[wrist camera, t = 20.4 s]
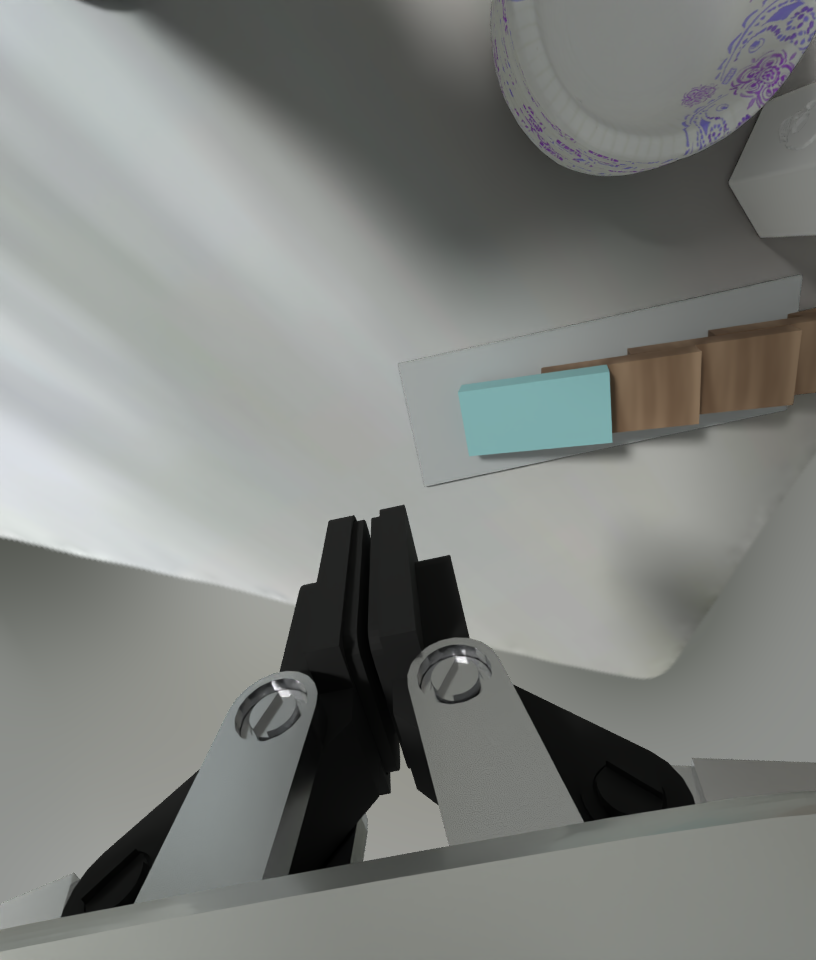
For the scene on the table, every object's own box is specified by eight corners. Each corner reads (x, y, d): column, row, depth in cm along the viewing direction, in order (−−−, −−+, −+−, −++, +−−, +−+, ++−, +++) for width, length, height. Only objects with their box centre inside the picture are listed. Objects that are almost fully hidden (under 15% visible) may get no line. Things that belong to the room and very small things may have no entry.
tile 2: (547, 439, 37) (698, 424, 34) (541, 374, 35) (701, 351, 32) (547, 430, 38) (692, 415, 35) (541, 367, 36) (694, 345, 33)
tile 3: (631, 421, 36) (792, 404, 33) (630, 354, 34) (801, 330, 31) (628, 413, 38) (782, 396, 35) (627, 348, 36) (790, 324, 33)
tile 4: (711, 403, 36) (881, 385, 33) (715, 335, 34) (896, 308, 31) (705, 396, 38) (866, 378, 35) (708, 330, 36) (880, 304, 33)
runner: (423, 484, 40) (424, 486, 40) (397, 363, 36) (398, 364, 36) (782, 408, 39) (786, 410, 39) (798, 274, 35) (802, 274, 34)
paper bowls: (494, -170, 25) (540, -342, 18) (776, -137, 26) (927, -288, 19) (465, 177, 31) (490, 153, 24) (693, 192, 32) (783, 173, 25)
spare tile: (469, 456, 37) (612, 442, 34) (457, 392, 35) (609, 371, 32) (472, 446, 38) (609, 432, 35) (461, 385, 36) (606, 364, 33)
